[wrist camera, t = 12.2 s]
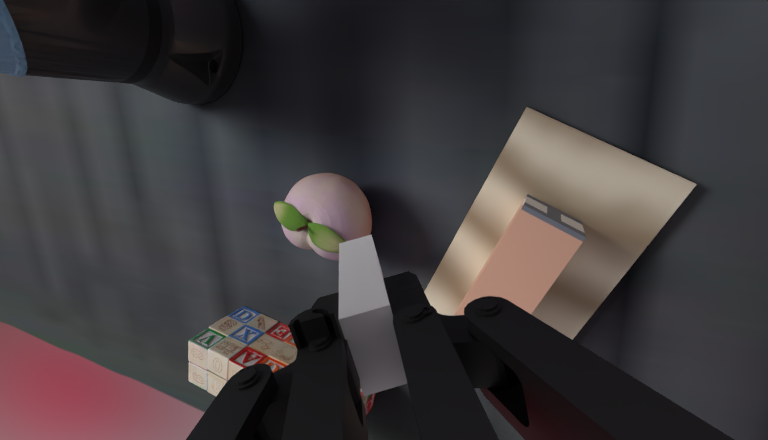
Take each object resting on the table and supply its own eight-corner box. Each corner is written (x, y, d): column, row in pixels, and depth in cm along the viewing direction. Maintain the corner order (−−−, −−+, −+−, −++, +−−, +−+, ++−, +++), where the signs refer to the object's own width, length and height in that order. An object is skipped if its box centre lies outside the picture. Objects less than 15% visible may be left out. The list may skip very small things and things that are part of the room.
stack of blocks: (241, 341, 55) (164, 396, 44) (244, 304, 53) (164, 352, 42) (374, 406, 48) (322, 490, 37) (382, 366, 46) (330, 442, 35)
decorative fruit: (397, 181, 40) (352, 198, 31) (381, 251, 42) (336, 286, 34) (320, 157, 43) (260, 167, 34) (310, 225, 45) (251, 250, 36)
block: (523, 204, 30) (443, 335, 35) (586, 237, 28) (493, 367, 34) (527, 193, 34) (455, 311, 39) (581, 221, 33) (499, 338, 38)
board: (527, 107, 33) (526, 106, 32) (692, 182, 30) (696, 184, 29) (413, 312, 43) (410, 316, 42) (530, 386, 39) (529, 393, 38)
